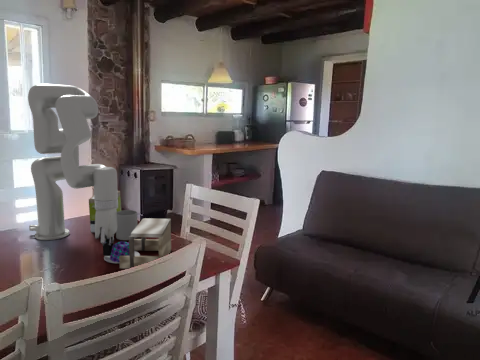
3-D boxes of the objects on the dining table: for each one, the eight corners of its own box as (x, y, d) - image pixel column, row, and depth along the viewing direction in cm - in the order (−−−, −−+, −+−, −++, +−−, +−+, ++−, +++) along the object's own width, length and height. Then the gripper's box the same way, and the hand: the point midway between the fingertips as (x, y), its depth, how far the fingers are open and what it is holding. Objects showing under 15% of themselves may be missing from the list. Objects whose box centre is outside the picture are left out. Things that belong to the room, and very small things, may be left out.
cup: (140, 233, 160) (140, 210, 158) (133, 240, 152) (132, 216, 150) (121, 232, 160) (120, 209, 159) (112, 239, 152) (111, 215, 151)
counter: (119, 268, 125) (118, 233, 123) (133, 249, 143) (132, 217, 140) (162, 269, 126) (162, 234, 123) (171, 249, 143) (170, 218, 141)
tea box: (99, 222, 175) (98, 190, 172) (122, 222, 175) (121, 190, 173) (89, 232, 160) (88, 198, 157) (114, 232, 161) (113, 198, 158)
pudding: (145, 259, 133) (145, 245, 132) (111, 268, 126) (110, 253, 125) (131, 249, 143) (131, 236, 142) (99, 256, 135) (98, 242, 134)
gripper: (102, 198, 138) (105, 247, 141) (86, 209, 123) (89, 263, 126) (123, 198, 138) (125, 247, 141) (110, 209, 123) (112, 263, 126)
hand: (108, 254), depth 134 cm, fingers closed
